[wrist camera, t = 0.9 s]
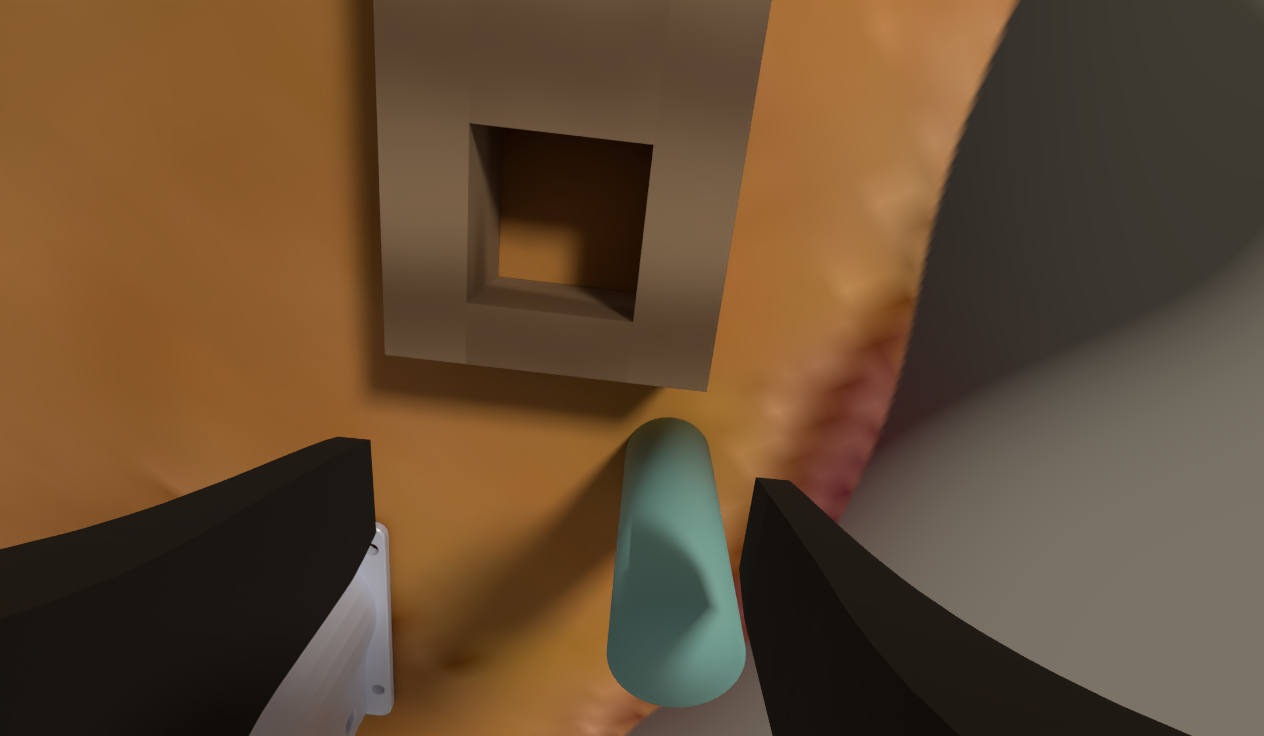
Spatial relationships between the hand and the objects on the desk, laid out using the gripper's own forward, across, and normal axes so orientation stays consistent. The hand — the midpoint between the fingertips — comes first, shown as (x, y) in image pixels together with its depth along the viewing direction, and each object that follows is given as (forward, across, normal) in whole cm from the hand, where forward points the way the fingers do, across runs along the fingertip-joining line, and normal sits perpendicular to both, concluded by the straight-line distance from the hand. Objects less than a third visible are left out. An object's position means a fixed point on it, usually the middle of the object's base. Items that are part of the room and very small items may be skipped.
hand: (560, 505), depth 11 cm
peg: (+10, -3, +4) cm, 11 cm away
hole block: (+10, +1, -8) cm, 13 cm away
